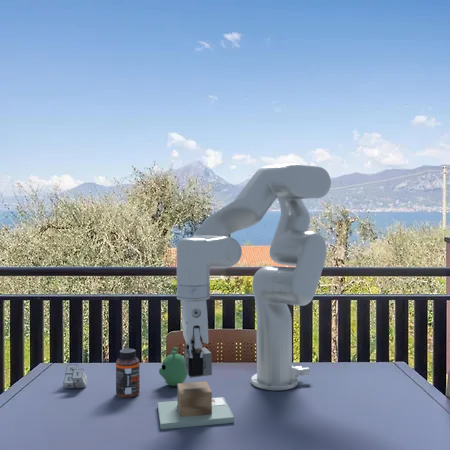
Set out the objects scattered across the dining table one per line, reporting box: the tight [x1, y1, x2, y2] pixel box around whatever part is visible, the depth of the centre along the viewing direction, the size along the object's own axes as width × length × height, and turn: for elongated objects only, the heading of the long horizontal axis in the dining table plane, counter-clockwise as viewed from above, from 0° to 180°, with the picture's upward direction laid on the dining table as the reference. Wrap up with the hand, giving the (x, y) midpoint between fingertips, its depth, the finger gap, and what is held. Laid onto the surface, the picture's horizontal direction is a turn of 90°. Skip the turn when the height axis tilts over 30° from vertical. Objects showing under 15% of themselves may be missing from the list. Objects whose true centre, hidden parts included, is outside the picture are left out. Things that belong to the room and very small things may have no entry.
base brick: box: [176, 381, 213, 417], centre depth 109 cm, size 7×7×5 cm
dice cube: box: [184, 346, 213, 379], centre depth 109 cm, size 5×5×5 cm
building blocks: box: [62, 364, 88, 389], centre depth 128 cm, size 5×5×8 cm
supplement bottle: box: [115, 348, 141, 399], centre depth 121 cm, size 6×6×11 cm
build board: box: [157, 396, 235, 430], centre depth 109 cm, size 16×12×1 cm
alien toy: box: [158, 346, 188, 387], centre depth 128 cm, size 7×8×10 cm
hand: (194, 370), depth 109 cm, fingers closed on dice cube, 5 cm apart
